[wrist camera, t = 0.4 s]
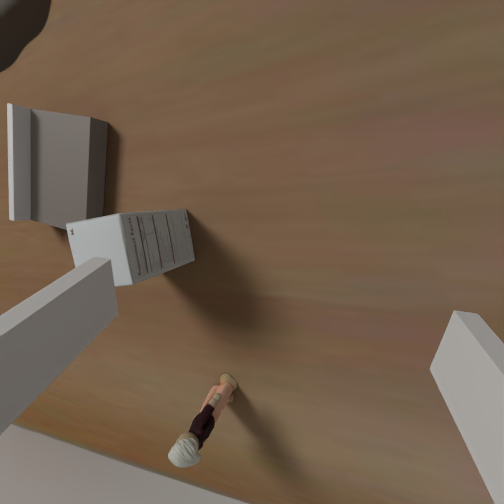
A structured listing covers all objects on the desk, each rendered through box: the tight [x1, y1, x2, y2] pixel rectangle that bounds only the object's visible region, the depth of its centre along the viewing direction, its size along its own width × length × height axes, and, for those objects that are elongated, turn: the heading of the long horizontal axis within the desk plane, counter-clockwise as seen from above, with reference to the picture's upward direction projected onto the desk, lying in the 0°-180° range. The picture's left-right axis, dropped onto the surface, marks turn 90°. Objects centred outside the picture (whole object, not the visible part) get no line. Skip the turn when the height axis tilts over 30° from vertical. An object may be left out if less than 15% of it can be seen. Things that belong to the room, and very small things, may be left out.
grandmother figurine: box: [168, 373, 237, 468], centre depth 37 cm, size 8×4×13 cm, turn 172°
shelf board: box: [7, 103, 108, 230], centre depth 43 cm, size 16×12×5 cm
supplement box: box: [66, 209, 195, 287], centre depth 36 cm, size 7×7×13 cm
